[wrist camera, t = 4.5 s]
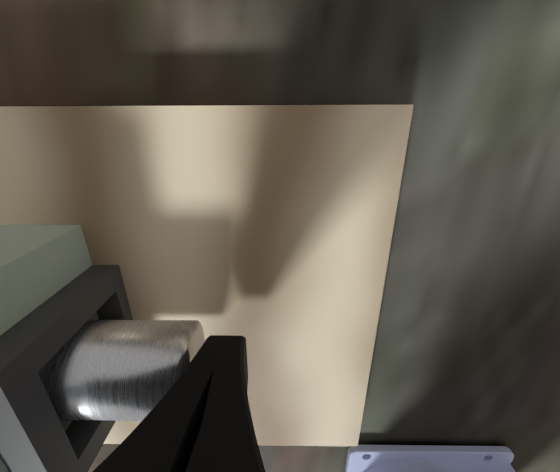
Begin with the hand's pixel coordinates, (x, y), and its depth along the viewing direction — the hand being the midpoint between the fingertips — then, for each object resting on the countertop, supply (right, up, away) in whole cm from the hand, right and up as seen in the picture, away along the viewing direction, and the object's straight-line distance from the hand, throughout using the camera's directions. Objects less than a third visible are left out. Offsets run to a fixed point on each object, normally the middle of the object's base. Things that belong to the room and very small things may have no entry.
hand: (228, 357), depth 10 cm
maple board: (-5, +1, +3) cm, 6 cm away
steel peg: (-6, 0, +1) cm, 6 cm away
